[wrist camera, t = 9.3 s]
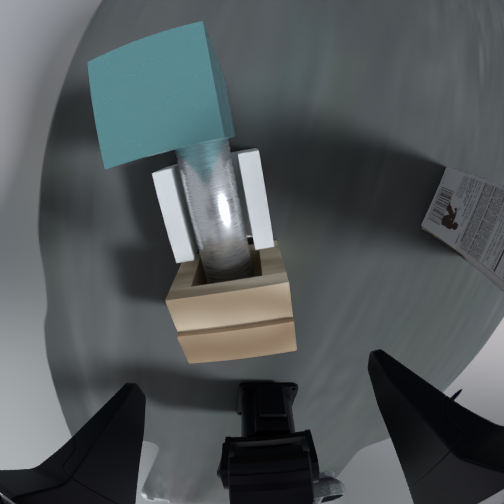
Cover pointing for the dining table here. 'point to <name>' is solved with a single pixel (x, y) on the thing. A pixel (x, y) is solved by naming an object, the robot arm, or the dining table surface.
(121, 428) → the robot arm
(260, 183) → the white notched block
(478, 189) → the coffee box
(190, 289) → the socket
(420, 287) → the dining table surface
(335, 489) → the mortar and pestle
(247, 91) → the dining table surface
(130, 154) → the teal and silver mallet
